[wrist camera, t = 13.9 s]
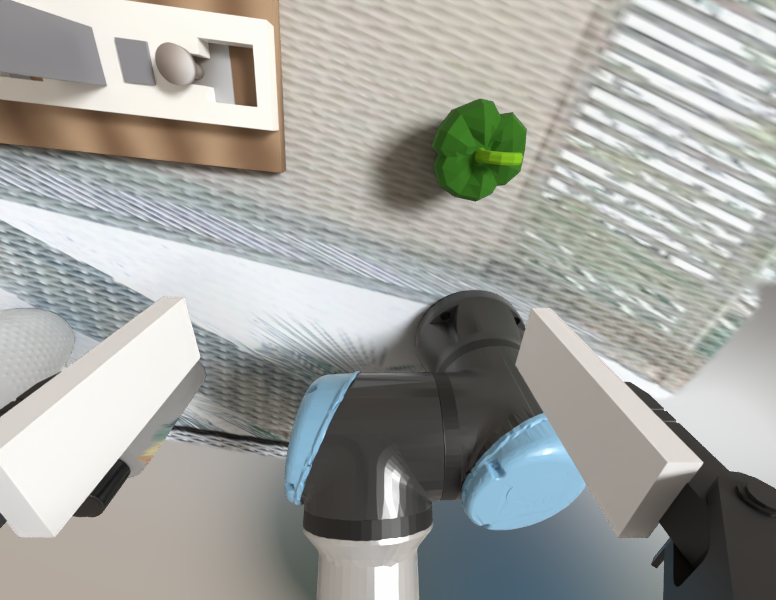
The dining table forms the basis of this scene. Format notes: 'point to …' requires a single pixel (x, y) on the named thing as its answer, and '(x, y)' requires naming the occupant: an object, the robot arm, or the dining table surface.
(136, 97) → the white slotted base fixture
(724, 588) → the robot arm
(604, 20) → the dining table surface
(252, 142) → the pin board
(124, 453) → the lotion bottle
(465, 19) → the dining table surface
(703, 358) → the dining table surface
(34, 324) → the mug
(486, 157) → the bell pepper
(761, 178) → the dining table surface
